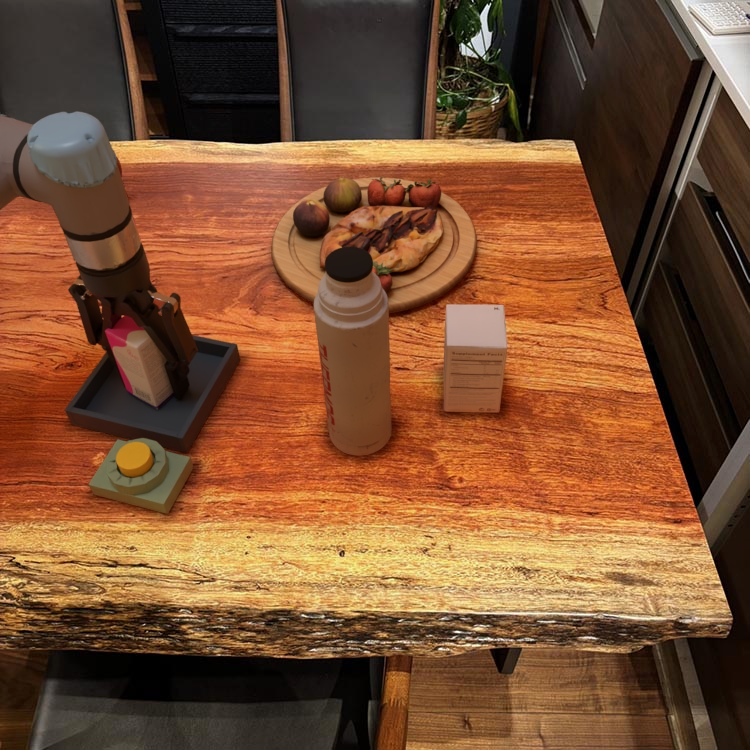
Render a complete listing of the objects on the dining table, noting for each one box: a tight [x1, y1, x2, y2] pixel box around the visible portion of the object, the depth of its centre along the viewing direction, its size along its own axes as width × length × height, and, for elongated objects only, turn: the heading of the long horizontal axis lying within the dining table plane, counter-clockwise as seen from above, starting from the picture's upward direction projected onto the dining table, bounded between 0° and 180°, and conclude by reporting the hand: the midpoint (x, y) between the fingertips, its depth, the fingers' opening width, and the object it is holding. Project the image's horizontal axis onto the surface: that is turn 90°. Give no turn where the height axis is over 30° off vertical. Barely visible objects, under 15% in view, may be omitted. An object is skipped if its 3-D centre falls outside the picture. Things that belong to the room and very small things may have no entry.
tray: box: [64, 334, 241, 454], centre depth 106 cm, size 17×17×3 cm
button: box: [116, 442, 154, 478], centre depth 94 cm, size 4×4×2 cm
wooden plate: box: [270, 176, 478, 314], centre depth 123 cm, size 32×32×8 cm
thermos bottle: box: [313, 247, 393, 457], centre depth 91 cm, size 8×8×28 cm
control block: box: [88, 438, 194, 515], centre depth 96 cm, size 10×7×4 cm
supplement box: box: [105, 316, 174, 410], centre depth 102 cm, size 6×6×12 cm
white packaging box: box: [442, 303, 509, 414], centre depth 101 cm, size 7×7×13 cm
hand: (157, 385), depth 106 cm, fingers closed on supplement box, 7 cm apart
